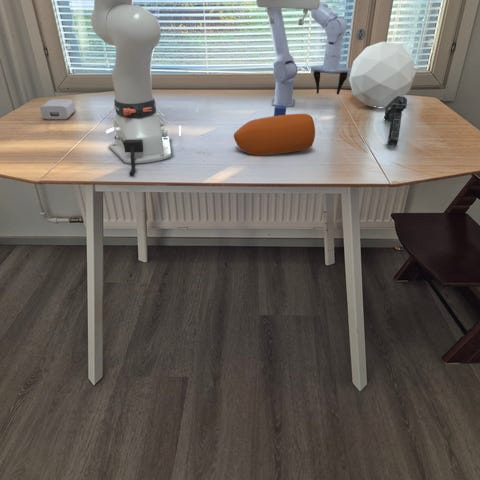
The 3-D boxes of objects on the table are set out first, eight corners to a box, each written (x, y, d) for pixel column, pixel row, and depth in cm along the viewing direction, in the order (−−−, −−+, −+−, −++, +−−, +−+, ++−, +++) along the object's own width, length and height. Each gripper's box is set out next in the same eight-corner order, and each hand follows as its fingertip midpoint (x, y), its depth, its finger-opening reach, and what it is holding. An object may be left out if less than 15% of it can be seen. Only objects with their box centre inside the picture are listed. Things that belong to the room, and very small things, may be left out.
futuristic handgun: (389, 146, 153) (397, 104, 149) (399, 145, 125) (409, 94, 122) (379, 144, 154) (386, 103, 150) (386, 144, 126) (395, 93, 122)
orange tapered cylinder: (237, 164, 122) (319, 153, 123) (234, 130, 116) (319, 118, 117) (233, 149, 132) (309, 139, 133) (230, 116, 126) (309, 106, 127)
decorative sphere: (334, 74, 174) (357, 27, 150) (388, 72, 178) (419, 26, 154) (346, 121, 167) (373, 80, 143) (402, 118, 171) (437, 78, 147)
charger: (80, 107, 160) (68, 119, 148) (56, 106, 160) (42, 119, 148) (77, 94, 158) (65, 106, 145) (53, 94, 157) (39, 106, 145)
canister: (284, 122, 149) (285, 108, 146) (273, 121, 150) (274, 108, 147) (285, 118, 152) (286, 105, 150) (274, 118, 153) (275, 104, 150)
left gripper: (324, -26, 126) (318, 24, 134) (259, -28, 129) (257, 21, 137) (324, -25, 121) (318, 27, 129) (256, -27, 124) (254, 24, 132)
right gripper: (312, 56, 146) (308, 95, 154) (353, 58, 144) (347, 97, 152) (312, 52, 152) (308, 90, 159) (352, 54, 150) (346, 92, 158)
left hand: (286, 24), depth 133 cm, fingers open, 8 cm apart
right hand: (327, 93), depth 156 cm, fingers open, 7 cm apart
